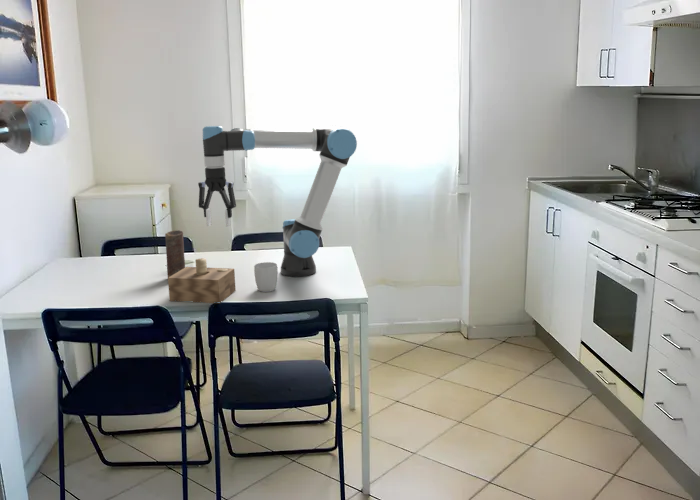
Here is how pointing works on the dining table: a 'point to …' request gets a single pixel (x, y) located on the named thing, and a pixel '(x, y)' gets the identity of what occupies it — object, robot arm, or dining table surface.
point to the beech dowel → (201, 266)
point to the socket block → (202, 285)
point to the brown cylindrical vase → (174, 252)
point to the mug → (266, 276)
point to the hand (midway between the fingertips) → (218, 225)
